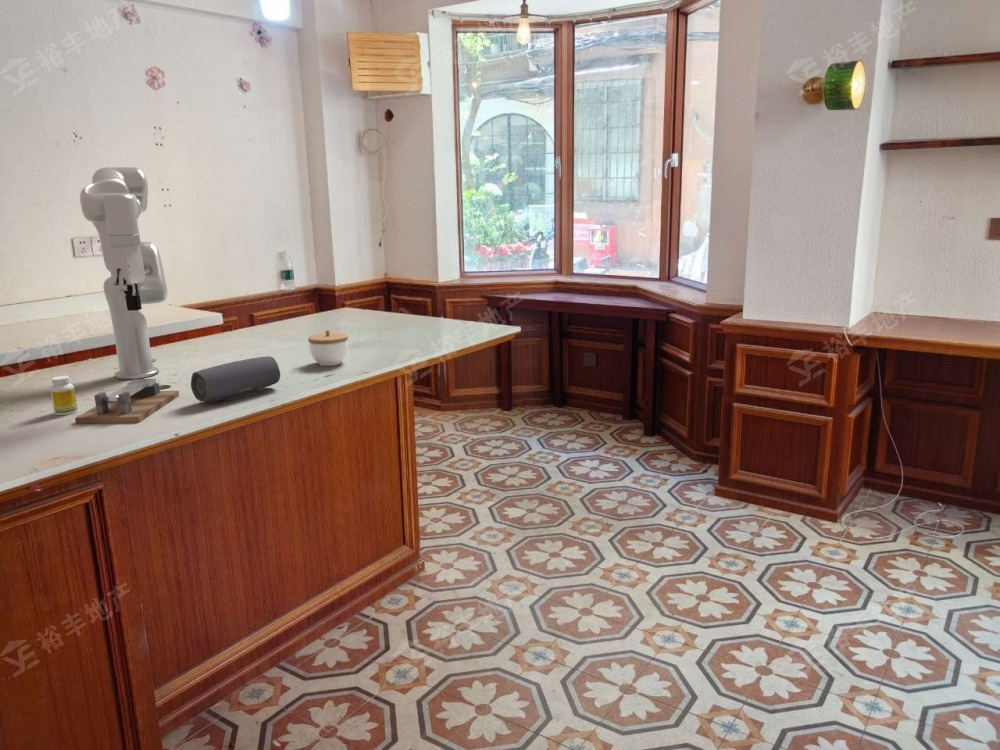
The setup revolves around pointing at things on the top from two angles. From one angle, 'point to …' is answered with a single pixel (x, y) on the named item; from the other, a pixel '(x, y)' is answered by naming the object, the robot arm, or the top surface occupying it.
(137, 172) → the robot arm
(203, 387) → the bluetooth speaker
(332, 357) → the lidded bowl
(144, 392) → the catch block
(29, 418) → the top surface
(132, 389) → the lever
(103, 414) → the walnut board
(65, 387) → the supplement bottle
